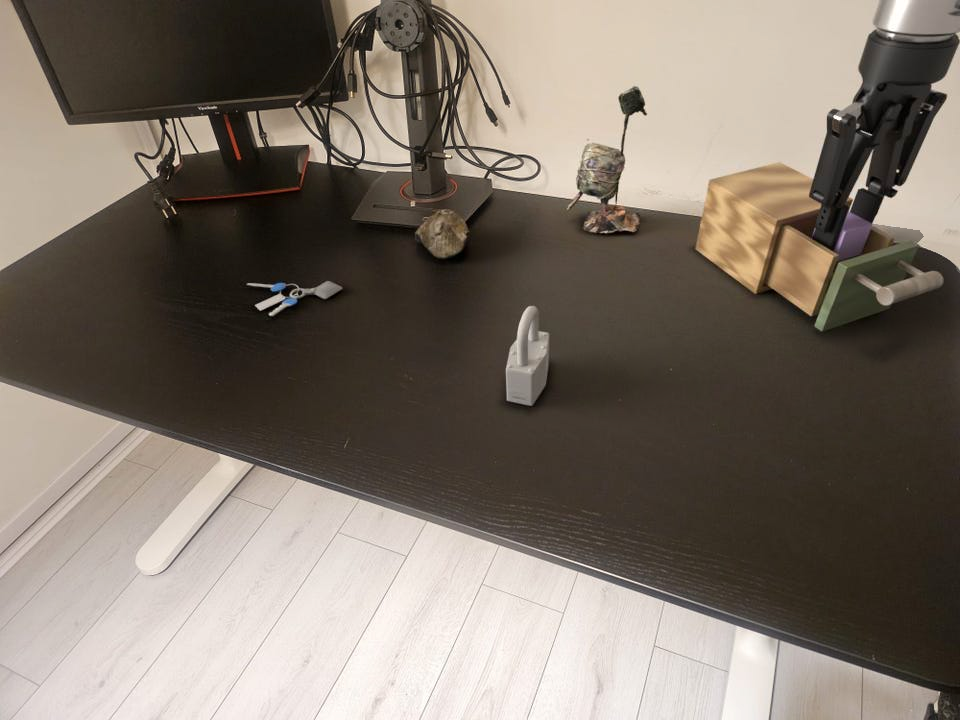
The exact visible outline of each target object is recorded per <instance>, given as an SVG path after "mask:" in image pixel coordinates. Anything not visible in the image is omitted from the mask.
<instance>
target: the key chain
mask: <svg viewBox="0 0 960 720" xmlns="http://www.w3.org/2000/svg"><path fill="white" fill-rule="evenodd" d="M246 285H247V286H251V287H259V288H260V287H262V288H269V289H270V291H271V292H273V293H274V292H275V293H276V292H279V293H278V294H276V295H273V296H272V297H270V298H267V299H265V300H263V301H261V302H259V303H256V304H255V305H254V306H255V308H257V310H259V312H260V311H264V310H265V309H267V308H270V307H272V306H274V305H276V304H279V303H280V302H281V304H280V305H279V306H278V307H276V308H274V309H273V310H272V311H269V312H268V315H269V316H270V317H274V316H275V315H277V314H278V313H280V312H281V311H283V310H284V309H285V308H287V307H293V306H295V305H296V304H297V303H298V299H301V298H303V297H305V296H310V295H311V296H313V295H314V296H315V295H316V296H317V297H319V298H320V299H323V300H327V299H329V298H330V297H332V296H333V295H335V294H337V293H339V292H340V291H341V290H343V286H341V285H338V284H336V283H335V282H333V281H330V280H326V281H325V282H323V283H321V284H320V285H318V286H316V287H312V288H311V287H310V288H301V287H299V285H297V284H295V283H288V284H286V283H284V282H277V283H275V284H263V283H254V282H253V283H252V282H248V283H246ZM291 285H292V286H295V287H297V288H294V289H292V290H291V291H290V293H289V296H284V295H283V294H282V291H283V290H284V289H286V288H287V286H291ZM300 291H301V294H300V295H299V292H300ZM294 293H295V294H294Z"/></svg>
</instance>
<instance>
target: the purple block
mask: <svg viewBox="0 0 960 720" xmlns="http://www.w3.org/2000/svg"><path fill="white" fill-rule="evenodd" d="M873 225H874V223H870V222H868V221H866V220H864V219H862V218H860V217H859V216H857V215H855V214H853V213H851V212H850V210H849V211H848V213H847V216H846V219H845V222H844V224H843V227H842V230H841V232H840V235H839V238H838V240H837V243H836V246H835V249H834V251H833V252H835V253H836V254H838V255H839V256H838V259H837V261H841V260H844V259H847V258H850V257H853V256H856V255H860V254H861V252H862V250H863V247H864V245H865V242H866V240H867V237H868V235H869V232H870V230H871V227H872V226H873ZM814 231H815V229H814ZM813 234H814V232H813ZM812 237H813V235H812ZM811 239H812V238H811Z"/></svg>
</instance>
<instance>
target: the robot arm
mask: <svg viewBox="0 0 960 720" xmlns="http://www.w3.org/2000/svg"><path fill="white" fill-rule="evenodd" d="M872 25H873V26H874V29H873V30H872V31H871V32H870V33H869V34H867V35H868V36H867V39H866V41H865V44H864V47H863V52H862V53H861V57H860V60H859V63H858V66H857V71H858V73H859V74H860V76H861V80H862V83H861V85H860V87H859V89H858V90H857V91H856V93H855V94H854V97H853V98H852V101H851V104H849V105H848V106H847V107H845V108H844V109H842V110H840V109H837V108H832V109H831V110H830V111H829V112H828V113H827V115H826V134H825V137H824V141H823V144H822V147H821V151H820V155H819V159H818V162H817V166H816V168H815V172H814V176H813V178H812V179H813V182H812V186H811V189H810V193H809V197H810V198H812V199H813V200H815V201H817V202H819V203H821V207H820V210H819V213H818V217H817V220H816V222H815V231H814V234H813V237H812V239H813V240H814V241H816V242H818V243H819V244H821V245H823V246H824V247H826V248H828V249H830V250H831V251H834V249H835V246H836V243H837V240H838V238H839V235H840V232H841V230H842V227H843V224H844V222H845V219H846V216H847V213H848V211H849V212H851V213H853V214H855V215H857V216H859V217H860V218H862V219H864V220H866V221H868V222H870V223H872V224H874V221H875V218H876V216H877V215H878V214H879V211H880V209H881V206H882V203H883V201H884V198H885V197H887V198H889V199H892V198H894V197H896V195H897V194H898V192H899V190H897V189H895V188H894V187H895V186H896V187H902V186H903V185H904V184H905V183H906V182H907V180H908V177H909V175H910V172H911V171H912V168H913V166H914V164H915V162H916V159H917V157H918V155H919V153H920V150H921V148H922V146H923V144H924V142H925V139H926V137H927V135H928V132H929V131H930V128H931V125H932V124H933V122H934V119H935V117H936V116H937V114H938V113H939V111H940V110H941V108H942V107H943V105H944V104H945V102H946V101H947V99H948V94H947V93H945V92H941V91H938V90H935V89H932V84H936V83H938V82H940V81H942V80H943V79H944V78H945V77H946V76H947V74H948V71H949V70H950V67H951V65H952V62H953V59H954V57H955V55H956V52H957V50H958V48H959V45H960V38H959V35H957V34H958V33H960V0H878V3H877V6H876V9H875V12H874V15H873V18H872ZM870 156H871V158H870ZM869 158H870V161H869V168H868V171H867V176H866V181H865V187H866V188H864V187H862V188H858V189H857V191H856V194H855V196H854V198H853V201H852V204H851V206H850V207H849V206H847V205H845V203H846V201H847V199H848V197H850V195H851V193H852V191H853V189H854V187H855V186H856V183H857V181H858V180H859V178H860V176H861V173H862V171H863V170H864V168H865V166H866V164H867V162H868V160H869ZM849 208H850V209H849Z"/></svg>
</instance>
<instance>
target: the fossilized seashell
mask: <svg viewBox="0 0 960 720" xmlns="http://www.w3.org/2000/svg"><path fill="white" fill-rule="evenodd" d="M470 233H471V231H470V230H469V228H468V225H467V223H466V221H465V219H463V218H462V217H460V216H459V214H458V213H457V212H456V211H455V210H452V209H439V210H437V211H436V212H435V213H433V214H432V215H431V216H429V217H428V218H427V219H426V220H425V221H424V222H423V223H422V224H421V225H420V226H419V227H418V228H417V229H416V231H415V233H414V239H415V242H416V243H420V244H422V245H423V246H424V247H425V249H426V250H427V251H428V252H429V253H430V254H432V256H434V257H435V258H436V259H439V260H446V259H452V258H453V257H456V256H457V255H459V254H461V252H463V251H464V249H466V245H467V243H468V240H469V235H470Z"/></svg>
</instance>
